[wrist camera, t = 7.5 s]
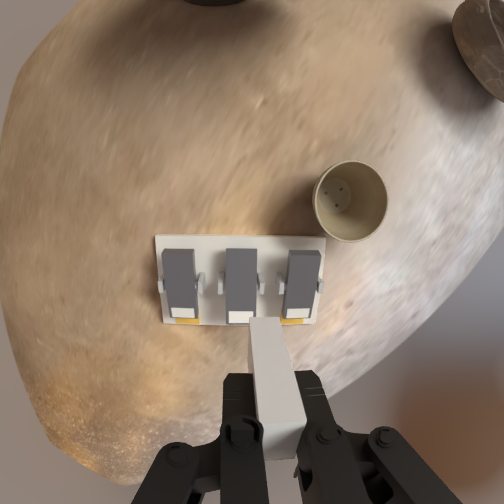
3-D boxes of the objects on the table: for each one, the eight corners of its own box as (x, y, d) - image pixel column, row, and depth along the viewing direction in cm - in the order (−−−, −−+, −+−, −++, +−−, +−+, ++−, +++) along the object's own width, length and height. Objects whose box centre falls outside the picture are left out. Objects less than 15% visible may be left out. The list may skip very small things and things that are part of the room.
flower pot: (317, 241, 39) (333, 256, 33) (288, 178, 36) (300, 181, 30) (373, 212, 39) (398, 221, 32) (349, 150, 36) (372, 148, 29)
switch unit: (157, 234, 38) (147, 243, 33) (324, 236, 39) (335, 245, 35) (165, 319, 42) (158, 336, 37) (313, 320, 43) (321, 336, 39)
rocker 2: (224, 248, 37) (224, 248, 35) (257, 248, 37) (258, 248, 35) (224, 320, 37) (224, 324, 36) (256, 320, 37) (257, 324, 36)
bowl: (513, 120, 34) (559, 122, 19) (452, 100, 33) (511, 91, 19) (490, 31, 26) (529, 20, 12) (421, -3, 26) (462, -31, 11)
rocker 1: (162, 248, 34) (159, 254, 33) (195, 248, 35) (194, 254, 33) (170, 310, 39) (168, 318, 37) (200, 311, 39) (198, 319, 37)
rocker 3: (287, 249, 35) (289, 255, 34) (319, 250, 36) (323, 255, 34) (280, 312, 40) (281, 319, 38) (309, 311, 40) (311, 318, 38)
